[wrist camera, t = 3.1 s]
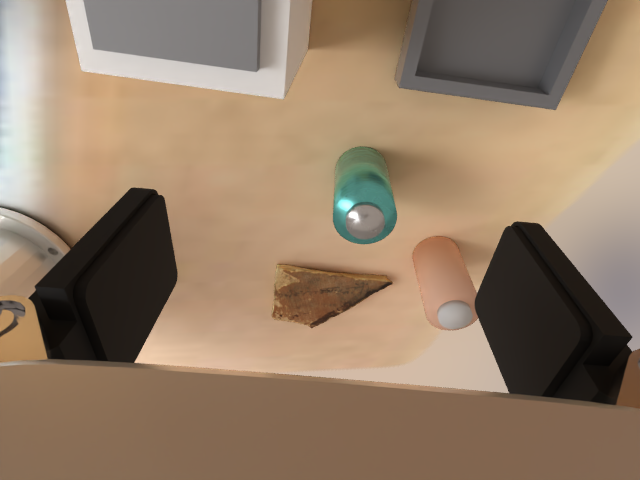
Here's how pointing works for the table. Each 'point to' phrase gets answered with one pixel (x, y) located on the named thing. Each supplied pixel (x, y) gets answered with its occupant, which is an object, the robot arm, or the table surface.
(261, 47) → the unit
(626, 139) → the table surface
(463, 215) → the table surface
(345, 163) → the cylinder
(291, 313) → the shard
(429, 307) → the terracotta cartridge
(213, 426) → the robot arm
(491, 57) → the tray
